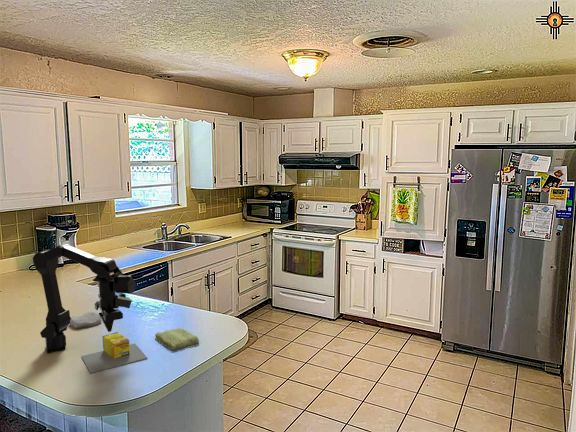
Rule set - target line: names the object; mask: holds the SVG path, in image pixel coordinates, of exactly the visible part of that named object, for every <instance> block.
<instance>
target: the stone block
mask: <svg viewBox="0 0 576 432" xmlns="http://www.w3.org/2000/svg"><path fill="white" fill-rule="evenodd" d="M99 324H102V319H101V317H100V316H99V312H98V313H97V312H96V311H89V312H85V313H84V314H82V315H79V316H72V317H71V320H70V324H69V325H70V326H71V327H74V329H81V328H85V327H88V328H89V327H93V326H97V325H99Z"/></svg>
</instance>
